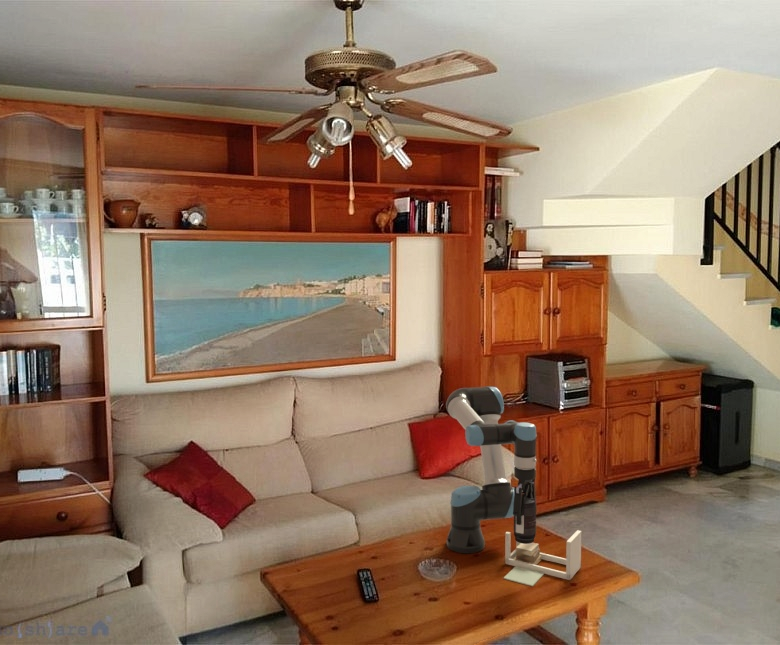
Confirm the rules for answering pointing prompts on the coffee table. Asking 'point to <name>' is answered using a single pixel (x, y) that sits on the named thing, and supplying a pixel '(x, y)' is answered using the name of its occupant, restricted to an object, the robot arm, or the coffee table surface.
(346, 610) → the coffee table surface
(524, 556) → the offcut middle
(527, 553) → the offcut top
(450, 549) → the robot arm
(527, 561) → the plate
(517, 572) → the mat
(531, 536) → the camera lens
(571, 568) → the rack
